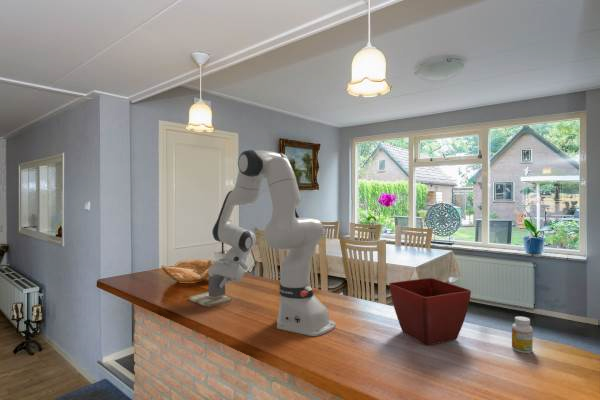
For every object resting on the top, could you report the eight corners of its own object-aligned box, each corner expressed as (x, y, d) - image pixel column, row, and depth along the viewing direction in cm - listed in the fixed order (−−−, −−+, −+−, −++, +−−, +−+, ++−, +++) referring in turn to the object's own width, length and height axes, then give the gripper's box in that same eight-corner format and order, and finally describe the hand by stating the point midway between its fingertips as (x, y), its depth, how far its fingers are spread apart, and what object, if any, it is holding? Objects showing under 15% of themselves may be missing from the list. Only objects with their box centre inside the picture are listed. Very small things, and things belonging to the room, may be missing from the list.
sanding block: (225, 295, 160) (225, 275, 160) (214, 298, 156) (213, 278, 155) (219, 294, 163) (219, 274, 163) (208, 297, 158) (208, 277, 158)
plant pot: (387, 329, 125) (387, 282, 125) (431, 322, 132) (431, 277, 131) (424, 352, 107) (424, 297, 107) (472, 342, 114) (472, 290, 113)
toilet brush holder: (223, 283, 189) (222, 227, 188) (209, 280, 195) (209, 226, 195) (238, 279, 197) (237, 225, 196) (224, 276, 204) (224, 224, 203)
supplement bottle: (513, 344, 113) (513, 314, 112) (533, 349, 109) (533, 317, 109) (510, 350, 108) (510, 318, 108) (531, 355, 105) (531, 323, 105)
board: (231, 300, 159) (231, 297, 159) (209, 307, 150) (209, 304, 150) (210, 293, 169) (210, 291, 169) (188, 299, 160) (188, 297, 160)
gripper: (215, 254, 171) (198, 278, 164) (243, 259, 158) (225, 285, 150) (222, 262, 174) (206, 286, 167) (250, 267, 161) (234, 293, 154)
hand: (215, 285), depth 159 cm, fingers closed on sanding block, 4 cm apart
